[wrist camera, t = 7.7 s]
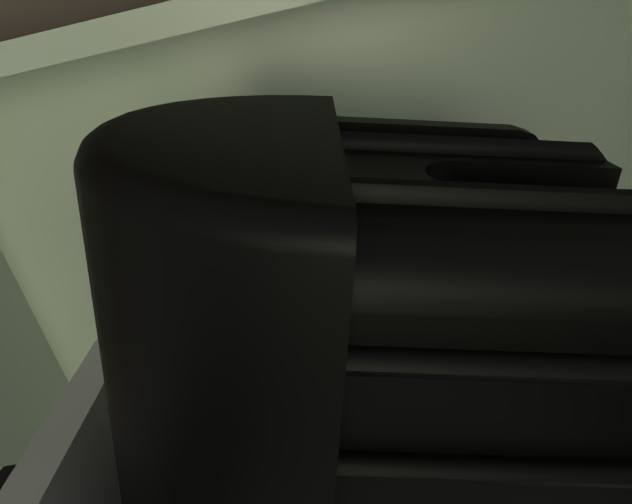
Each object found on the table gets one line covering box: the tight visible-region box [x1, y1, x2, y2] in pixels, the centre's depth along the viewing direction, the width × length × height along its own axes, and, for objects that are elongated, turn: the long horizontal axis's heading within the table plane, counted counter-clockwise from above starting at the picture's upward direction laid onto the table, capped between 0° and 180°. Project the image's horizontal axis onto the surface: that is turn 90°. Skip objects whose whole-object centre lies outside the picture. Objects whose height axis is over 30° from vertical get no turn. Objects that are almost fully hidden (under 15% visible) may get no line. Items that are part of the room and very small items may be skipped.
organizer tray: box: [0, 0, 632, 470], centre depth 16 cm, size 22×20×5 cm
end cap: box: [73, 95, 632, 504], centre depth 9 cm, size 10×7×7 cm
